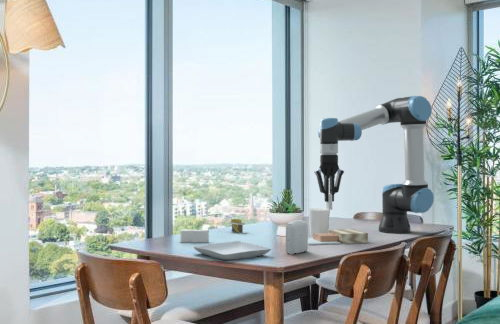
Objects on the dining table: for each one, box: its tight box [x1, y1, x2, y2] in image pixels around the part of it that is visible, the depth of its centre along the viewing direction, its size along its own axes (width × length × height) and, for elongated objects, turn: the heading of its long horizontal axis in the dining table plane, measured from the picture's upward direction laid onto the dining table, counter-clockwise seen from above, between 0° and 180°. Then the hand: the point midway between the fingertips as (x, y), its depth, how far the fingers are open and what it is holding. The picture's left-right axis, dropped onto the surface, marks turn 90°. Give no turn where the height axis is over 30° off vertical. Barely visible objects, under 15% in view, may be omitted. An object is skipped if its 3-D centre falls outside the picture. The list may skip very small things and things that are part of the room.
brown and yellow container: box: [228, 218, 246, 234], centre depth 271 cm, size 12×18×7 cm, turn 40°
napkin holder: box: [179, 228, 210, 243], centre depth 240 cm, size 15×11×6 cm
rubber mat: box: [308, 237, 341, 246], centre depth 242 cm, size 14×16×1 cm
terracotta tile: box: [312, 233, 338, 242], centre depth 243 cm, size 8×8×2 cm
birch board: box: [328, 228, 369, 245], centre depth 245 cm, size 12×14×4 cm
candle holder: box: [308, 208, 331, 237], centre depth 261 cm, size 10×10×12 cm
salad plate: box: [193, 240, 272, 261], centre depth 207 cm, size 21×21×3 cm
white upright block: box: [285, 219, 309, 255], centre depth 214 cm, size 10×4×12 cm, turn 140°
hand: (329, 209), depth 243 cm, fingers closed
